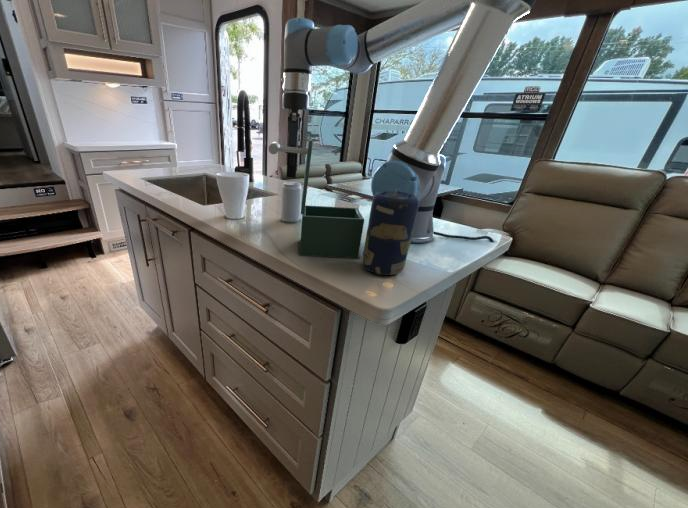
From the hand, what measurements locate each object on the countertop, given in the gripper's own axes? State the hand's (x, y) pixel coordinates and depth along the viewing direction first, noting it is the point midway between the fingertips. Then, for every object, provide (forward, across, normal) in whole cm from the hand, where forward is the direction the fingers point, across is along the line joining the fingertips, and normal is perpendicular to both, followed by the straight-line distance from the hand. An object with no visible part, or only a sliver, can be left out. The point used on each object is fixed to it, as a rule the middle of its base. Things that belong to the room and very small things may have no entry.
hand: (292, 174), depth 99 cm
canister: (+14, +37, +23) cm, 46 cm away
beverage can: (+15, 0, 0) cm, 15 cm away
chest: (+14, +25, +11) cm, 31 cm away
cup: (+15, -1, -19) cm, 24 cm away
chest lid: (-3, +25, +5) cm, 26 cm away
